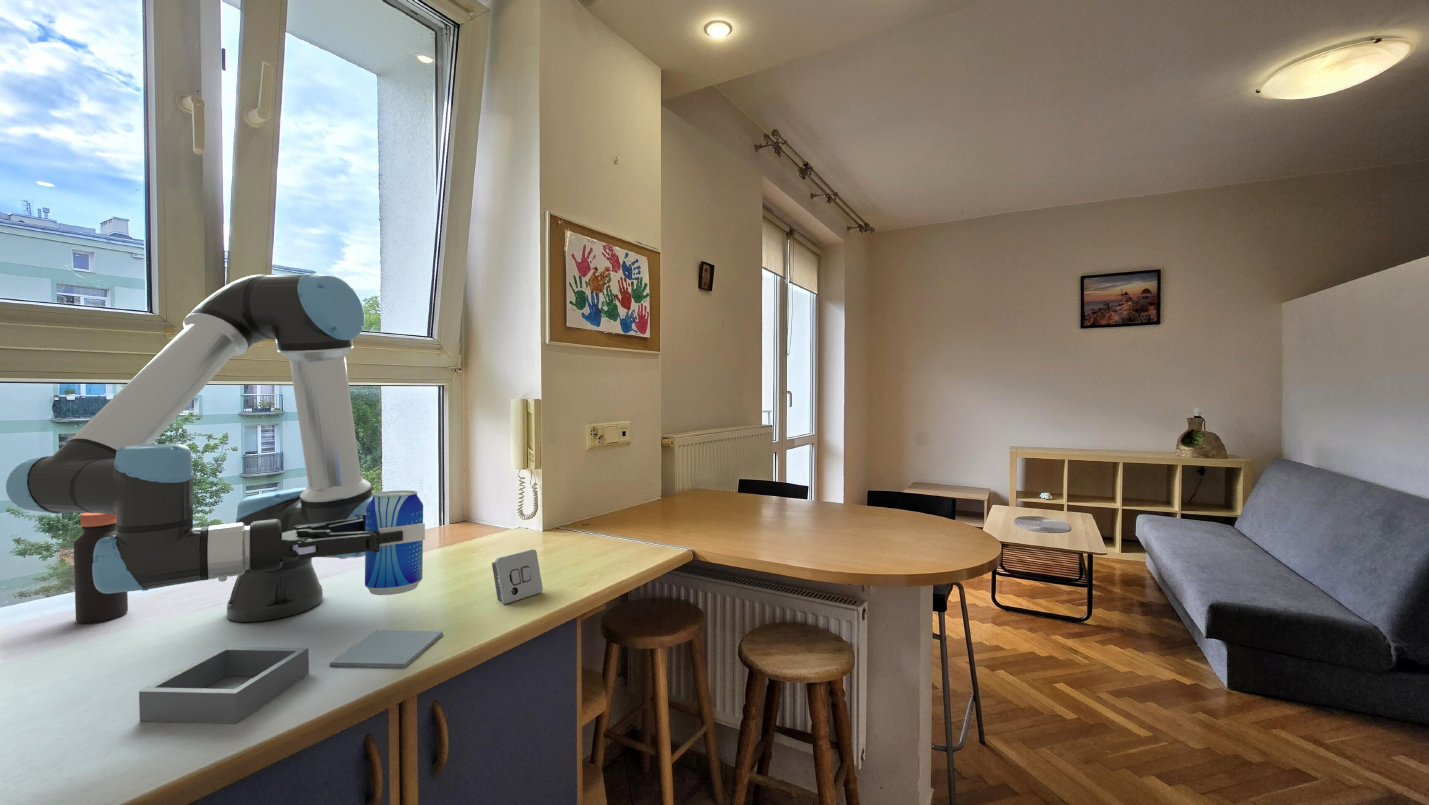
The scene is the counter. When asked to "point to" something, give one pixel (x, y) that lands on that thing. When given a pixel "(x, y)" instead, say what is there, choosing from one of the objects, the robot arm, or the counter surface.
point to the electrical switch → (517, 576)
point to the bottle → (87, 597)
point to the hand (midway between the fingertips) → (418, 526)
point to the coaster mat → (387, 649)
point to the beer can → (396, 562)
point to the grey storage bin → (193, 703)
